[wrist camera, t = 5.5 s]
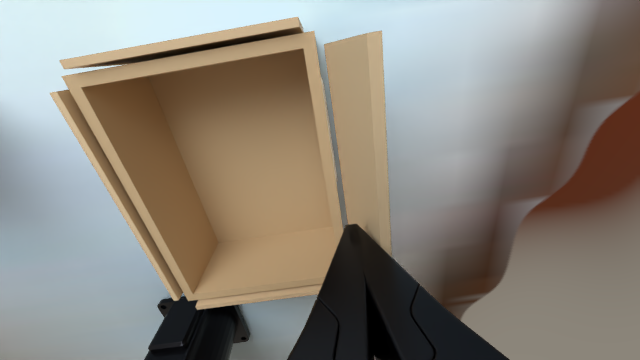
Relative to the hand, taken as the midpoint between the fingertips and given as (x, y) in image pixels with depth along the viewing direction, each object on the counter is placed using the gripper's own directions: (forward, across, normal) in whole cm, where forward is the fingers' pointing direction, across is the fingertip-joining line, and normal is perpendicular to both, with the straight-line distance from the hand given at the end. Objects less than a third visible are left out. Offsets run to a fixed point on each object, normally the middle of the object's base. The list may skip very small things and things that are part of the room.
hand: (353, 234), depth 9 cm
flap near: (+1, 0, 0) cm, 1 cm away
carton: (+9, +5, 0) cm, 10 cm away
